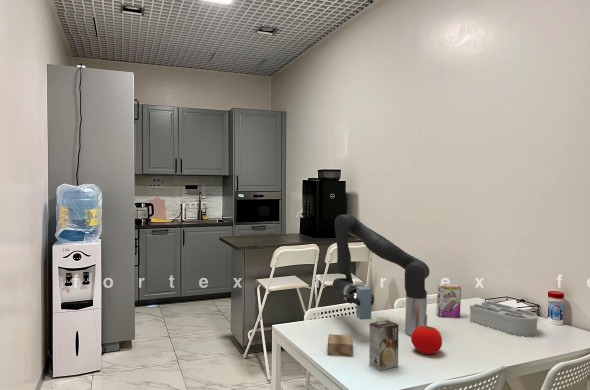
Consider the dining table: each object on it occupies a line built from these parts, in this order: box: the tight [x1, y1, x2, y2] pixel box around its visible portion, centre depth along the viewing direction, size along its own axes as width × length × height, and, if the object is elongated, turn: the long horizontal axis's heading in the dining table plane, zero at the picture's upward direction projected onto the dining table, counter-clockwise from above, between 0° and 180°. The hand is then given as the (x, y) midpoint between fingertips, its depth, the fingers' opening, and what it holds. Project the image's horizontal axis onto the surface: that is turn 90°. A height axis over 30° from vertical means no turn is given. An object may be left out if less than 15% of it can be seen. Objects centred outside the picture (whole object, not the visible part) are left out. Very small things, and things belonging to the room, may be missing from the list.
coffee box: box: [368, 319, 399, 372], centre depth 159 cm, size 9×6×16 cm
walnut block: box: [327, 334, 354, 357], centre depth 173 cm, size 10×10×5 cm
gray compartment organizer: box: [469, 300, 539, 338], centre depth 204 cm, size 17×28×9 cm, turn 34°
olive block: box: [375, 317, 390, 322], centre depth 173 cm, size 5×5×13 cm
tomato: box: [410, 325, 443, 355], centre depth 173 cm, size 11×12×10 cm
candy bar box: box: [436, 283, 462, 318], centre depth 220 cm, size 11×5×16 cm, turn 84°
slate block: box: [355, 285, 372, 321], centre depth 184 cm, size 5×5×13 cm
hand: (365, 303), depth 181 cm, fingers closed on slate block, 5 cm apart
